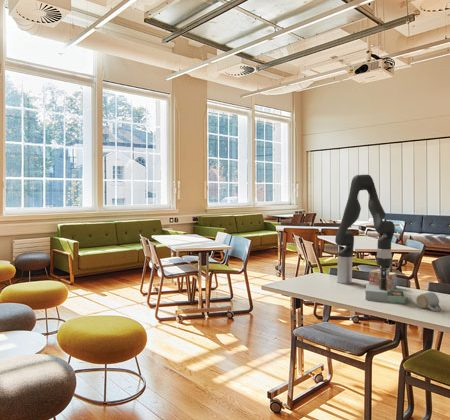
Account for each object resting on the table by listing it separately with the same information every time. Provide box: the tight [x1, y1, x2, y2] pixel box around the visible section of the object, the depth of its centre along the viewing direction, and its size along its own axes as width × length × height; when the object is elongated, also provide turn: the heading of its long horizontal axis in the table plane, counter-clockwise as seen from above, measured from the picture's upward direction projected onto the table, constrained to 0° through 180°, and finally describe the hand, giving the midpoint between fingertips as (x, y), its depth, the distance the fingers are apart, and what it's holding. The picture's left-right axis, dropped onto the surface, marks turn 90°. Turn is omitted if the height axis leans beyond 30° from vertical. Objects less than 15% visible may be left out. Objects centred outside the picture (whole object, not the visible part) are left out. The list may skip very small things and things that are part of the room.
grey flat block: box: [365, 284, 388, 303], centre depth 224 cm, size 16×11×5 cm
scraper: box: [379, 278, 390, 292], centre depth 223 cm, size 16×6×5 cm, turn 159°
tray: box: [387, 289, 408, 305], centre depth 220 cm, size 17×10×4 cm, turn 159°
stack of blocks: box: [368, 268, 398, 290], centre depth 244 cm, size 21×6×12 cm, turn 129°
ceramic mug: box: [416, 291, 441, 312], centre depth 203 cm, size 11×8×8 cm
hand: (383, 287), depth 223 cm, fingers closed on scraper, 4 cm apart
